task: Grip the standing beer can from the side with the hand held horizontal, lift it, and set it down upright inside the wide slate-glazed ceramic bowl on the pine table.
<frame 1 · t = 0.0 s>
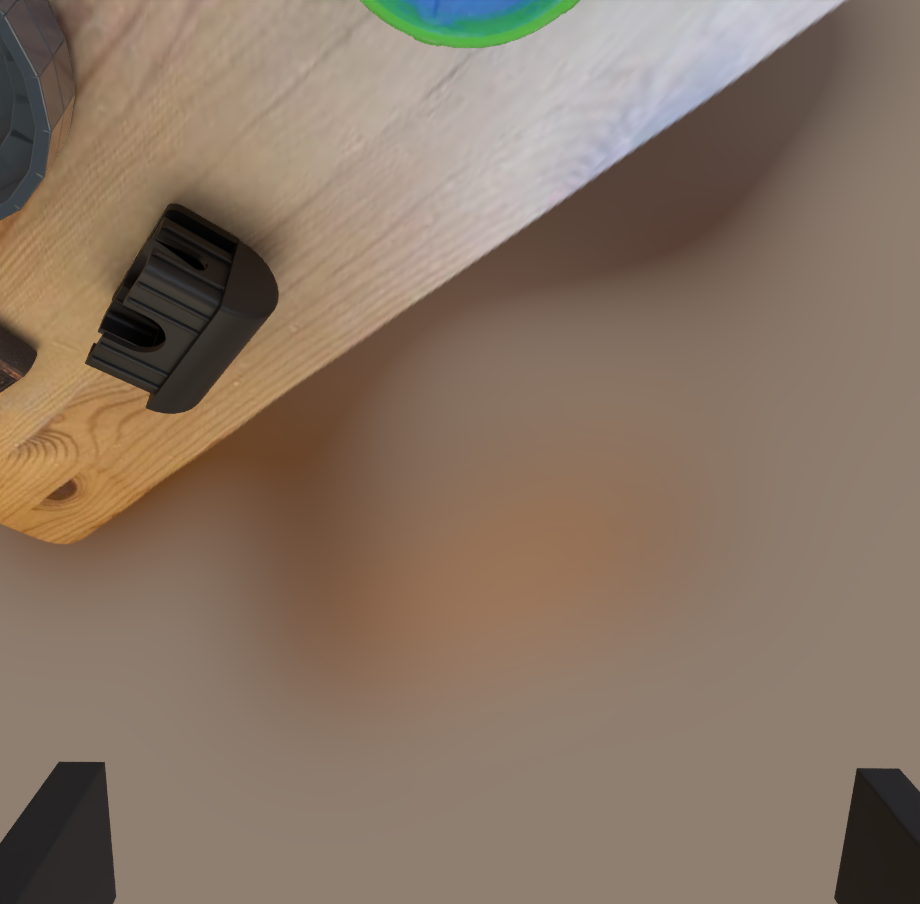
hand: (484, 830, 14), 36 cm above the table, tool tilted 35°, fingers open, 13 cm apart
end cap: (196, 279, 50), on the table
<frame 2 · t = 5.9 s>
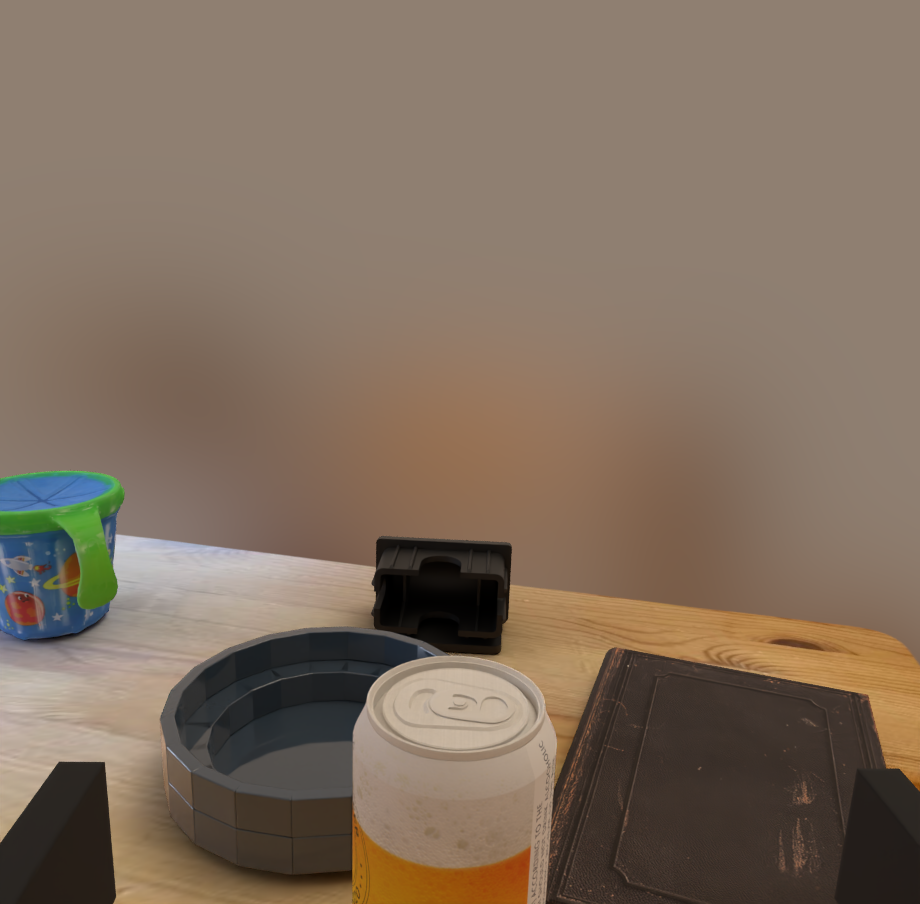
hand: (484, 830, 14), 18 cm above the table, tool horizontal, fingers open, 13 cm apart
snack cup: (54, 622, 61), on the table
end cap: (440, 631, 61), on the table
hardcover book: (718, 815, 42), on the table
bowl: (326, 770, 44), on the table
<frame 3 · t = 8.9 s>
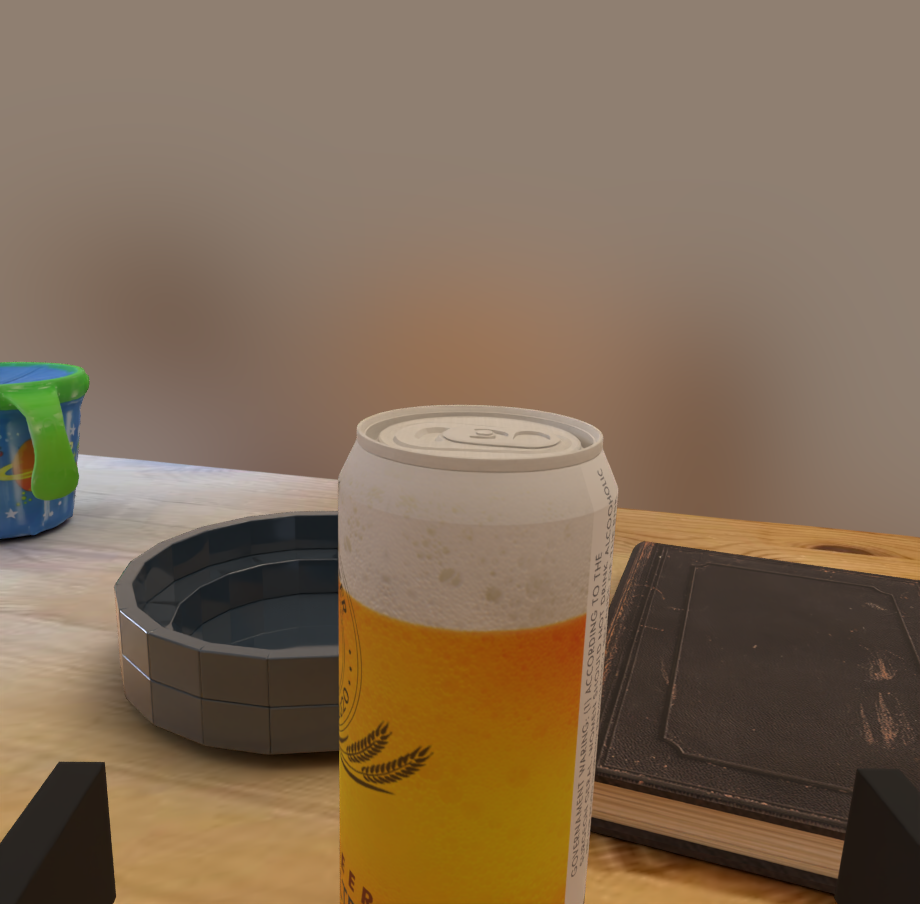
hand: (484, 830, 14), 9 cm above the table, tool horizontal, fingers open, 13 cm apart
snack cup: (11, 527, 54), on the table
hardcover book: (777, 702, 36), on the table
bowl: (313, 658, 38), on the table
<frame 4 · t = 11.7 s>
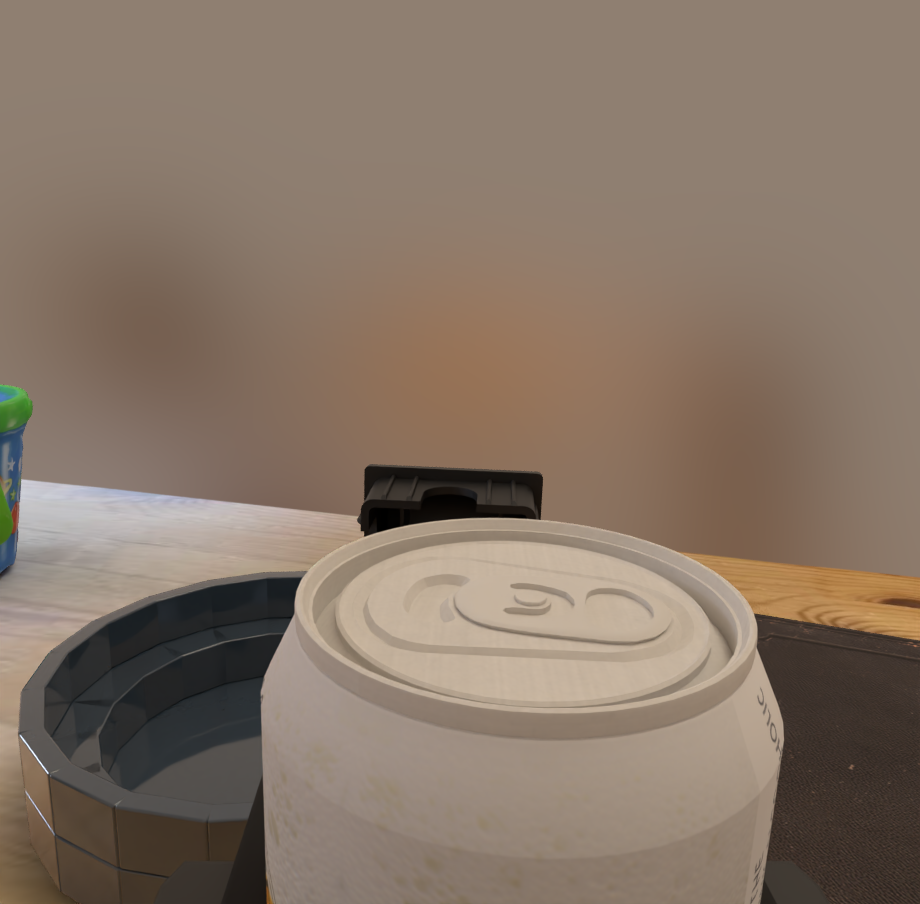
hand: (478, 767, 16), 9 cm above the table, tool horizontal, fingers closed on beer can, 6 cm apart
end cap: (449, 589, 47), on the table
hardcover book: (878, 837, 28), on the table
bowl: (284, 771, 30), on the table
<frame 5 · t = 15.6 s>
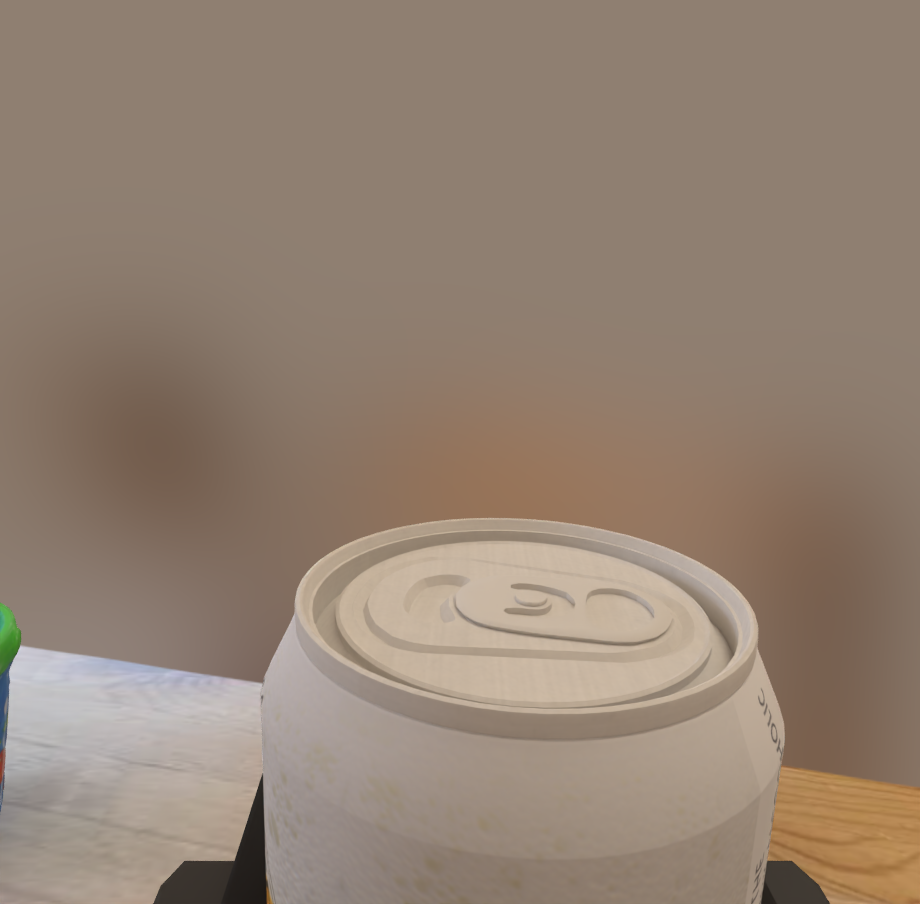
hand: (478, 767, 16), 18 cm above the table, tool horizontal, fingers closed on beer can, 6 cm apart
when the fingers open (10 cm above the table, at t = 19.4 s): beer can stays where it is, resting on bowl.
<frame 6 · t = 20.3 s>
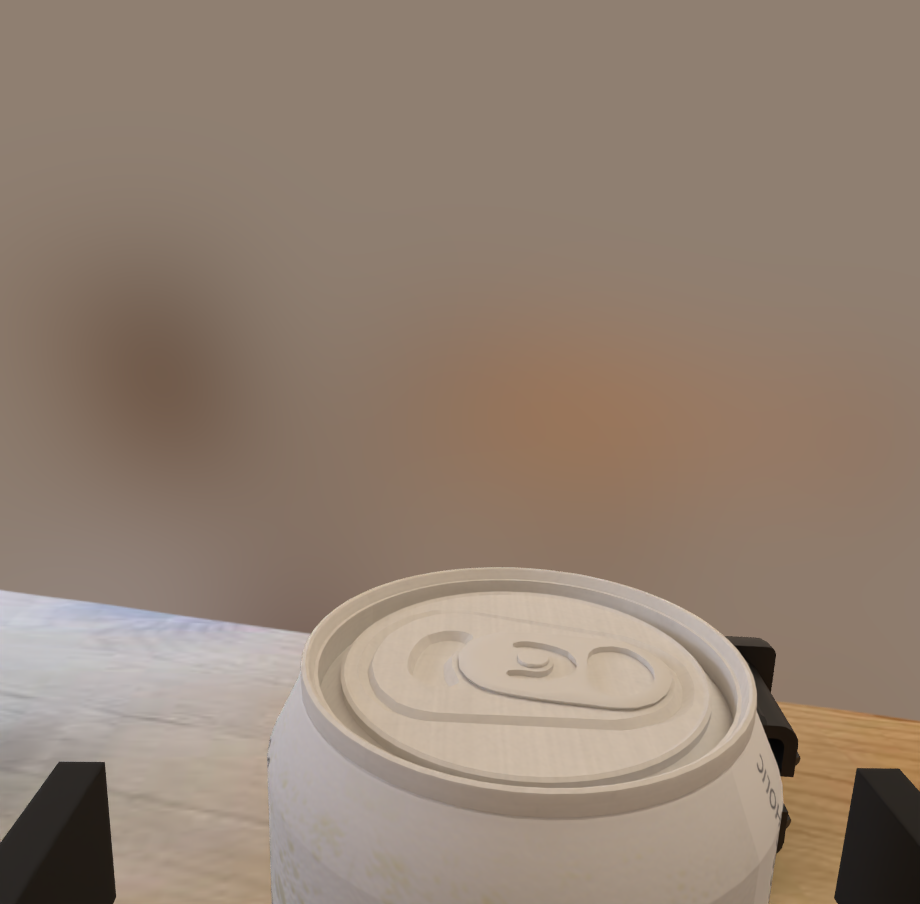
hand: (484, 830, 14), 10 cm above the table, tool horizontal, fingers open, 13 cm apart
end cap: (622, 816, 30), on the table
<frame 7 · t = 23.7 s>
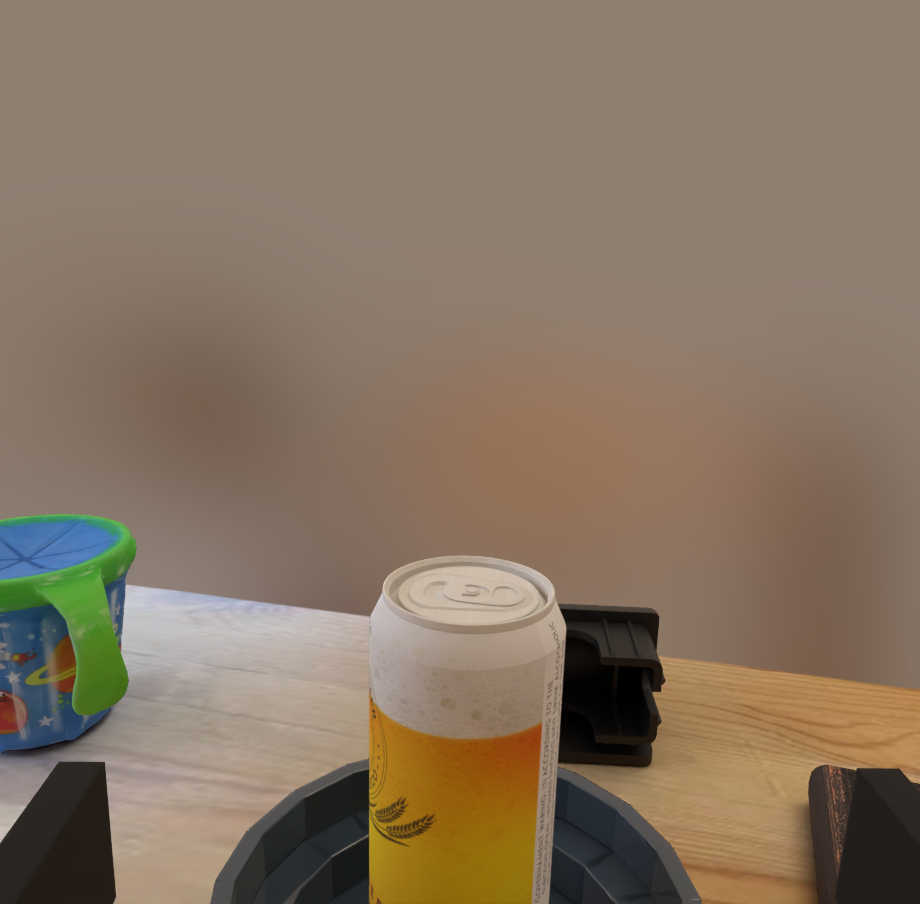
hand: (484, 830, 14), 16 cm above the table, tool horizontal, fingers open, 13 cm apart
snack cup: (43, 720, 45), on the table
end cap: (560, 727, 46), on the table
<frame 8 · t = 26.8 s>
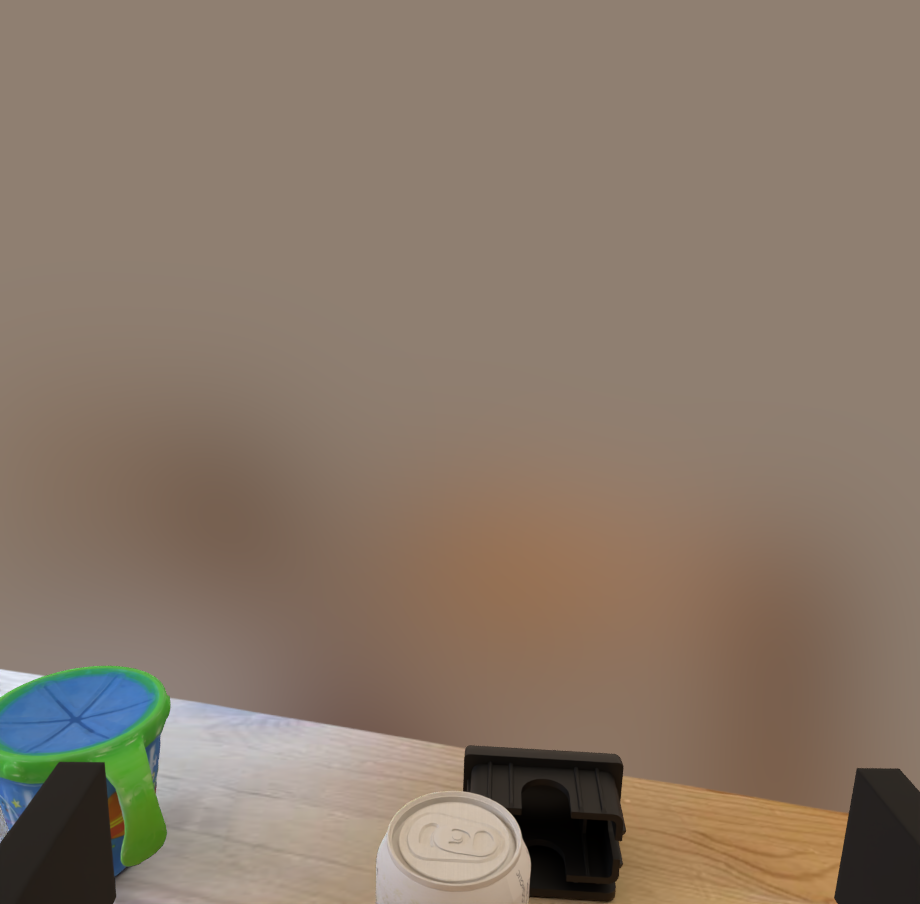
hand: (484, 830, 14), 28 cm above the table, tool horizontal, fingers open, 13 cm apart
snack cup: (88, 852, 52), on the table
end cap: (538, 857, 53), on the table
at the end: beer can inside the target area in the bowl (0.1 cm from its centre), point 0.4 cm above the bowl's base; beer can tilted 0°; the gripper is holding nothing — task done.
